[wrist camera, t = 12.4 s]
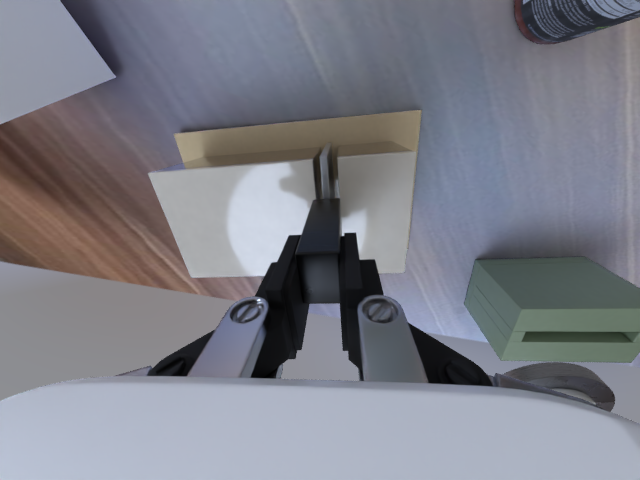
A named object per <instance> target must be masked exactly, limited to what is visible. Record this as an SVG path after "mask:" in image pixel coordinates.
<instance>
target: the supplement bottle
mask: <svg viewBox="0 0 640 480" xmlns="http://www.w3.org/2000/svg"><path fill="white" fill-rule="evenodd" d="M514 7H515V19H516V22H517V25H518V26H519V30H520V31H521V32H522V34H523V35H524V36H525V37H526V38H527V39H529V40H530V41H532V42H535V43H537V44H555V43H560V42H564V41H568V40H571V39H574V38H577V37H580V36H584V35H586V34H589V33H592V32H596V31H598V30H602V29H604V28H607V27H610V26H614V25H617V24H620V23H623V22H626V21H629V20H632V19H635V18H638V17H640V0H515V5H514Z"/></svg>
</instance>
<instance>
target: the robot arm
mask: <svg viewBox="0 0 640 480" xmlns="http://www.w3.org/2000/svg"><path fill="white" fill-rule="evenodd" d="M300 237H301V235H289V236H288V238H287V241H286V243H285V245H284V247H283V250H282V252H281V254H280V257H279V259H278V261H277V262H272V263H271V264H270V266H269V268H268V270H267V272H266V274H265V277H264V279H263V281H262V283H261V285H260V287H259V289H258V291H257V293H256V295H255V296H253V297H247V298H243V299H241V300H239V301H237V302H235V303H234V304H233V305H232V306H231V307H230V308H229V309H228V310H227V312H226V313H225V315H224V317H223V318H222V320H221V321H220V323H219V325H218V326H217V328H216V329H215V330H213V331H212V332H210V333H208V334H206V335H204V336H203V337H201V338H199V339H197V340H196V341H194V342H192V343H190V344H188V345H187V346H185V347H183V348H181V349H180V350H178V351H176V352H174V353H173V354H171V355H169V356H167V357H166V358H164V359H163V360H161V361H160V362H159V363H158V364H157V365H156V366H155V367H154V368H152V367H151V366H147V367H144V368H140V369H137V370H133V371H130V372H126V373H123V374H119V375H116V376H112V377H93V378H84V379H75V380H69V381H64V382H59V383H54V384H49V385H45V386H41V387H38V388H35V389H32V390H29V391H25V392H22V393H19V394H16V395H14V396H11V397H9V398H6V399H3V400H1V401H0V480H640V424H639V423H637V422H634V421H632V420H629V419H627V418H624V417H622V416H620V415H617V414H614V413H611V412H609V411H606V410H604V409H602V408H601V407H599V406H598V405H596V403H595V402H594V401H593V400H592V399H591V398H590V397H589V396H588V395H587V394H585V393H583V392H580V391H577V390H573V389H565V388H553V389H547V388H544V387H540V386H537V385H534V384H530V383H527V382H524V381H521V380H517V379H514V378H511V377H507V376H504V375H501V374H497V373H496V374H495V376H494V377H493V376H490V375H487V374H486V373H485V372H484V371H483V370H482V369H481V368H480V367H479V366H478V365H476V364H475V363H474V362H472V361H471V360H469V359H467V358H466V357H464V356H462V355H461V354H459V353H457V352H456V351H454V350H452V349H451V348H449V347H447V346H446V345H444V344H443V343H441V342H439V341H438V340H436V339H434V338H433V337H431V336H429V335H428V334H426V333H424V332H423V331H421V330H419V329H418V328H416V327H414V326H413V325H411V324H409V323H408V322H407V319H406V317H405V314H404V311H403V309H402V307H401V305H400V304H399V303H398V302H397V301H396V300H394V299H392V298H390V297H388V296H384V295H383V290H382V286H381V282H380V278H379V274H378V269H377V265H376V261H375V259H365V260H360V259H359V251H358V243H357V235H356V232H353V233H344V236H341V237H340V262H339V295H340V312H341V327H342V342H343V343H342V344H343V351H348V354H349V360H350V361H351V362H352V363H353V364H355V365H356V366H357V367H358V373H359V381H341V380H306V379H304V380H303V379H280V378H281V374H282V370H283V363H284V362H285V361H286V360H288V359H295V358H296V353H297V350H301V349H302V344H303V338H304V332H305V326H306V320H307V314H308V309H309V304H304V303H303V298H302V292H301V286H300V279H299V273H298V267H297V263H296V258H295V252H296V249H297V246H298V243H299V240H300Z"/></svg>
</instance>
